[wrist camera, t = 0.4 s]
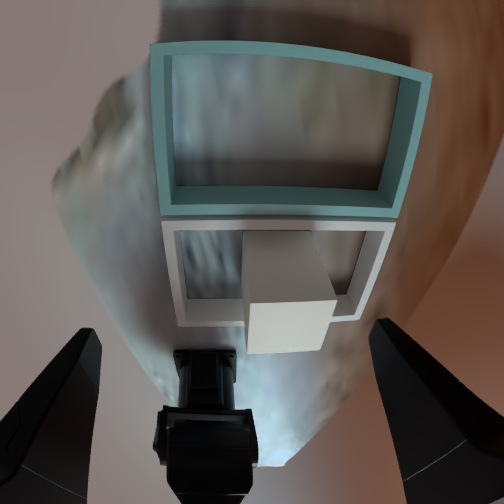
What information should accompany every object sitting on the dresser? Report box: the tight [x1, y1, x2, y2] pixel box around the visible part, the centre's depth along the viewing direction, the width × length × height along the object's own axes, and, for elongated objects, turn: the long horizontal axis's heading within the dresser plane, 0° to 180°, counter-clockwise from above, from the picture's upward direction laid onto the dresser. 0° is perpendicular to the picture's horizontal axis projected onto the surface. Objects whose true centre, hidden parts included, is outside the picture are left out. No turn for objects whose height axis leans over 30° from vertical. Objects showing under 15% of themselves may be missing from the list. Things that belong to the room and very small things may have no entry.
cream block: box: [241, 231, 337, 354], centre depth 22 cm, size 5×5×7 cm
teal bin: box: [150, 41, 432, 218], centre depth 17 cm, size 10×15×2 cm, turn 87°
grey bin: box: [161, 215, 396, 327], centre depth 23 cm, size 10×15×2 cm, turn 87°
